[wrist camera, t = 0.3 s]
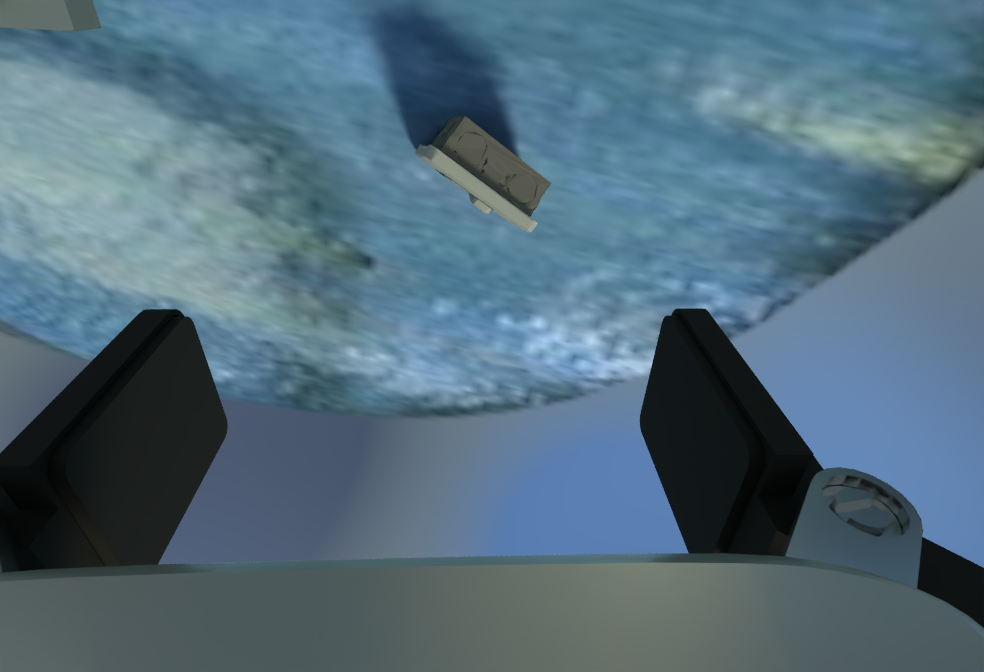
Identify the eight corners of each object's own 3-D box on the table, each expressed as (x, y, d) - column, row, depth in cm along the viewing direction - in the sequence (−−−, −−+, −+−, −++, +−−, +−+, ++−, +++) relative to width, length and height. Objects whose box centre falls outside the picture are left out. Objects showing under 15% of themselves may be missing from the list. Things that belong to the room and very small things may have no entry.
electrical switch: (413, 151, 43) (409, 177, 35) (449, 95, 41) (454, 109, 33) (503, 216, 47) (518, 253, 39) (540, 167, 45) (564, 196, 37)
